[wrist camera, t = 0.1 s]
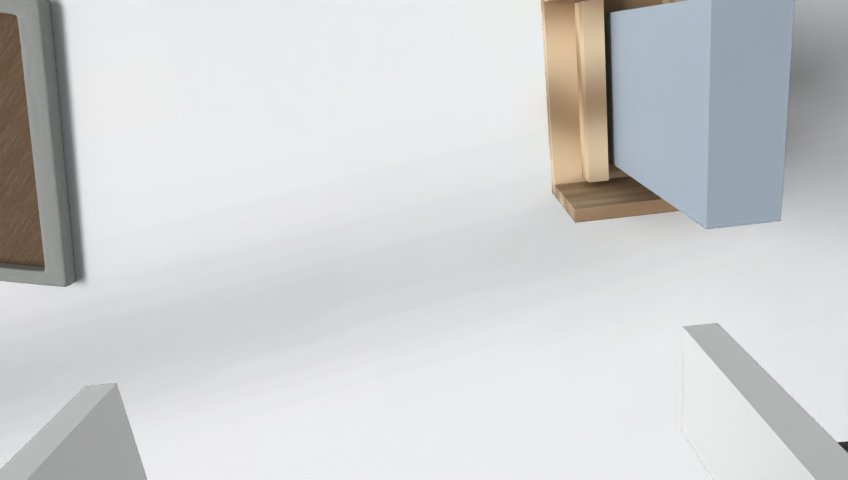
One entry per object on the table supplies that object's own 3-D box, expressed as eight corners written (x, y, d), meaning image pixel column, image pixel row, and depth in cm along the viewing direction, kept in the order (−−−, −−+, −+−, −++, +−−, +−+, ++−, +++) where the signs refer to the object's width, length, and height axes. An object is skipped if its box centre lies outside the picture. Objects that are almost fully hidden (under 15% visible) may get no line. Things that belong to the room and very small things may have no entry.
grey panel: (603, 13, 36) (711, -4, 22) (653, 7, 36) (795, -15, 22) (607, 160, 39) (706, 229, 25) (654, 155, 39) (780, 220, 25)
